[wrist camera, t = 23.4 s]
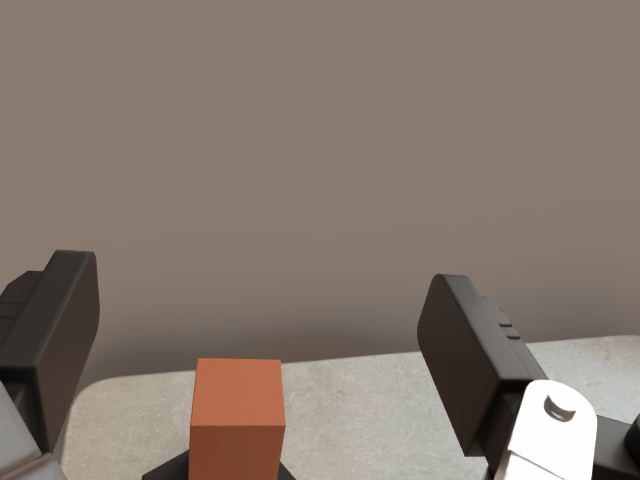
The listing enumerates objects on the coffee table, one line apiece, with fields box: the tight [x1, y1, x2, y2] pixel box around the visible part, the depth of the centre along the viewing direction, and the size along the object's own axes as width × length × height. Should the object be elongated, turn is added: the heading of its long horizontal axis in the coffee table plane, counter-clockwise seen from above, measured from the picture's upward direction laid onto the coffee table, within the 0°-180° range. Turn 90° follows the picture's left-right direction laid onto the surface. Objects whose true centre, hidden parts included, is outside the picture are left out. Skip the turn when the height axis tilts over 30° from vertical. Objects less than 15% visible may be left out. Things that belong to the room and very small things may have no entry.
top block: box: [188, 358, 286, 480], centre depth 31 cm, size 5×5×9 cm
